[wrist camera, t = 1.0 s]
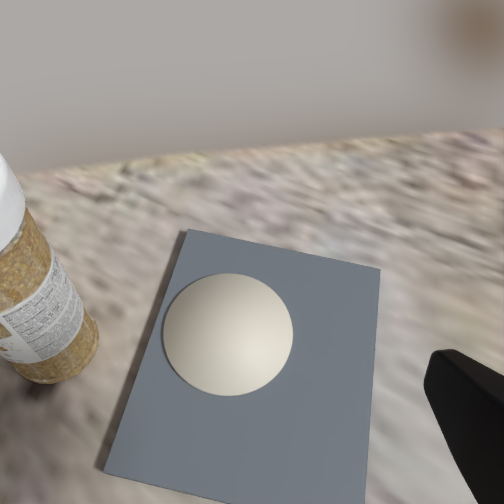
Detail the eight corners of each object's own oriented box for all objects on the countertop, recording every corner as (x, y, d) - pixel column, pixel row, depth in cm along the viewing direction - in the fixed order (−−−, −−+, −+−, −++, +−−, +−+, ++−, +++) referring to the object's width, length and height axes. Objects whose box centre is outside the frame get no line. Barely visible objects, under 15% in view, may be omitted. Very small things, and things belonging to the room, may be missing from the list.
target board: (358, 535, 21) (363, 536, 20) (105, 473, 21) (102, 471, 21) (377, 273, 28) (381, 267, 27) (188, 233, 29) (188, 226, 28)
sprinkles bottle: (-5, 347, 24) (-203, 181, 13) (66, 290, 26) (-52, 102, 15) (49, 406, 23) (-119, 277, 11) (119, 341, 25) (36, 176, 13)
